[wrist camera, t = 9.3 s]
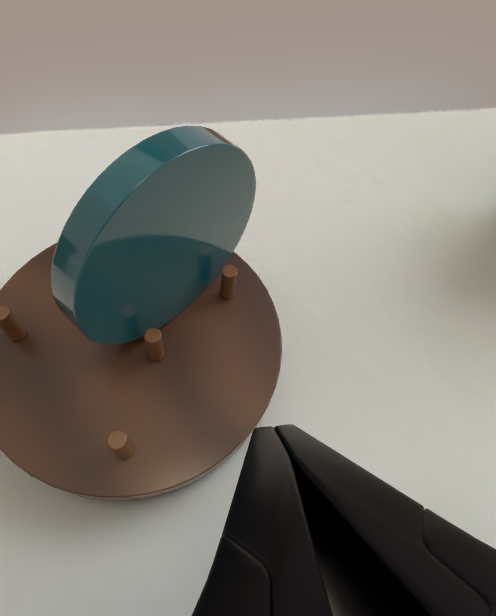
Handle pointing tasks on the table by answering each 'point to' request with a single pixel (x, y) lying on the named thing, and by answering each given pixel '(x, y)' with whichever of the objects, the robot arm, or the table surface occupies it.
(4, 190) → the table surface
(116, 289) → the dish rack
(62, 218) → the table surface
